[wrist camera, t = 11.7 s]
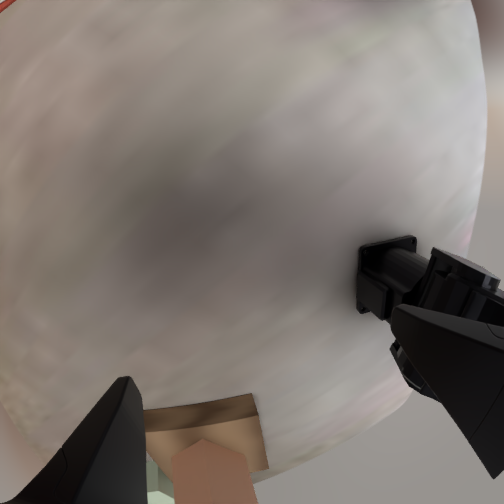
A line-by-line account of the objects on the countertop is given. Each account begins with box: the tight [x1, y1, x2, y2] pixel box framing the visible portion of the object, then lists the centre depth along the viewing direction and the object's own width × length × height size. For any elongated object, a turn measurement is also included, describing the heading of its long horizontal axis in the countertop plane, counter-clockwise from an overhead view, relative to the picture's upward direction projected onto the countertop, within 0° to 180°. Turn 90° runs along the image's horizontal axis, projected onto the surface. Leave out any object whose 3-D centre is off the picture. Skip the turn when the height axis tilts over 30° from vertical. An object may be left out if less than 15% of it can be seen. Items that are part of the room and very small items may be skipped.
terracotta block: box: [172, 439, 258, 504], centre depth 19 cm, size 5×6×12 cm
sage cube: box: [146, 461, 175, 504], centre depth 26 cm, size 5×5×5 cm
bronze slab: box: [143, 393, 269, 483], centre depth 26 cm, size 12×12×3 cm
